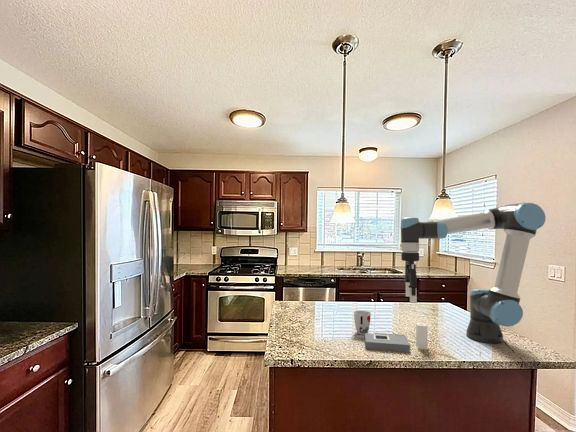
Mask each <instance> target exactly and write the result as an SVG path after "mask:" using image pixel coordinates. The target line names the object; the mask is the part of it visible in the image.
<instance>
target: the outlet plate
mask: <svg viewBox="0 0 576 432" xmlns="http://www.w3.org/2000/svg"><path fill="white" fill-rule="evenodd" d="M385 334H386V333H385ZM385 334H375V333H369V332H368V333H365V335H364V342H365V343H364V344H365V349H366V350H375V351H387V352H388V351H389V352H400V353H401V352H402V353H411V345H410V343H409V340H408V338H407V336H406V335H405V336H399V335H400V334H399V335H385Z"/></svg>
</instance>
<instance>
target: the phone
mask: <svg viewBox="0 0 576 432" xmlns="http://www.w3.org/2000/svg"><path fill="white" fill-rule="evenodd" d="M374 334H385V335H399V336H406V335H405V334H396V333H383V332H381V333H380V332H374Z"/></svg>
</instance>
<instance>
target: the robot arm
mask: <svg viewBox="0 0 576 432" xmlns="http://www.w3.org/2000/svg"><path fill="white" fill-rule="evenodd" d="M545 223H546V213H545V211H544V210H543V209H542V207H541V206H540V205H538V204H537V203H534V202H525V201H524V202H520V203H513V204H512V203H511V204H507V205H502V206H498V207H495V208H491V209H485V210H484V211H483V212H480V213H479V212H478V213H473V214H468V215H460V216H453V217H449V218H442V219H437V220H435V219H434V220H429V221H420V220H419V218H418V217H403V218H402V219H401V222H400V238H401V239H400V240H401V244H400V245H399V246H400V249H401V251H402V252H401V254H400V255H401V261H403V262H404V263H405V265H404V268H405V270H404V281H405V283H404V284H405V297H409V303H410V304H417V303H418V301H417V300H418V296H417V295H418V293H417V292H418V291H417V288H418V278H417V265H416V264H415V262H419V261H420V253H419V251H420V240H421V239H426V240H427V239H429V240H431V239H433V240H435V239H437V240H440V239H446V238H447V237H448V235H450V234H451V235H452V234H458V233H463V232H464V233H465V232H469V231H470V232H471V231H472V232H473V231H476V230H477V231H478V230H482V229H483V230H484V229H488V230H492V231H493V230H503V232H504V233H505V234H506V237H505V241H504V245H503V249H502V253H501V258H500V262H499V265H498V270H497V274H496V278H495V281H494V286H493V287H491V288H489V289H486V288H483V289H482V288H481V289H480V288H477V289H475V288H473V289H471V290H470V291H469V314H470V315H469V317H470V319H469V322H468V325H467V327H466V337H467V338H469V339H471V340H473V341H477V342H481V343H486V344H487V343H488V344H500V343H503V342H504V335H503V331H502V329H501V326H503V327H505V328H506V327H508V328H509V327H513V326H515V325H517V324H519V323H520V322H521V321H522V319H523V317H524V312H523V311H524V310H523V308H522V306H521V305H520V302H521V296H520V295H519V294H518V291H519V287H520V282H521V279H522V274H523V270H524V266H525V262H526V257H527V253H528V249H529V245H530V241H531V239H533V238H534V237H536V233H537V230H538V229H540V228H542V227H543V226H544V225H545Z"/></svg>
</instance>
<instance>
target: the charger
mask: <svg viewBox="0 0 576 432" xmlns="http://www.w3.org/2000/svg"><path fill="white" fill-rule="evenodd" d="M428 333H429V332H428V325H427V323H423V322H415V346H416V348H417V350H428V349H429V347H428V342H429V340H428Z"/></svg>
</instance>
